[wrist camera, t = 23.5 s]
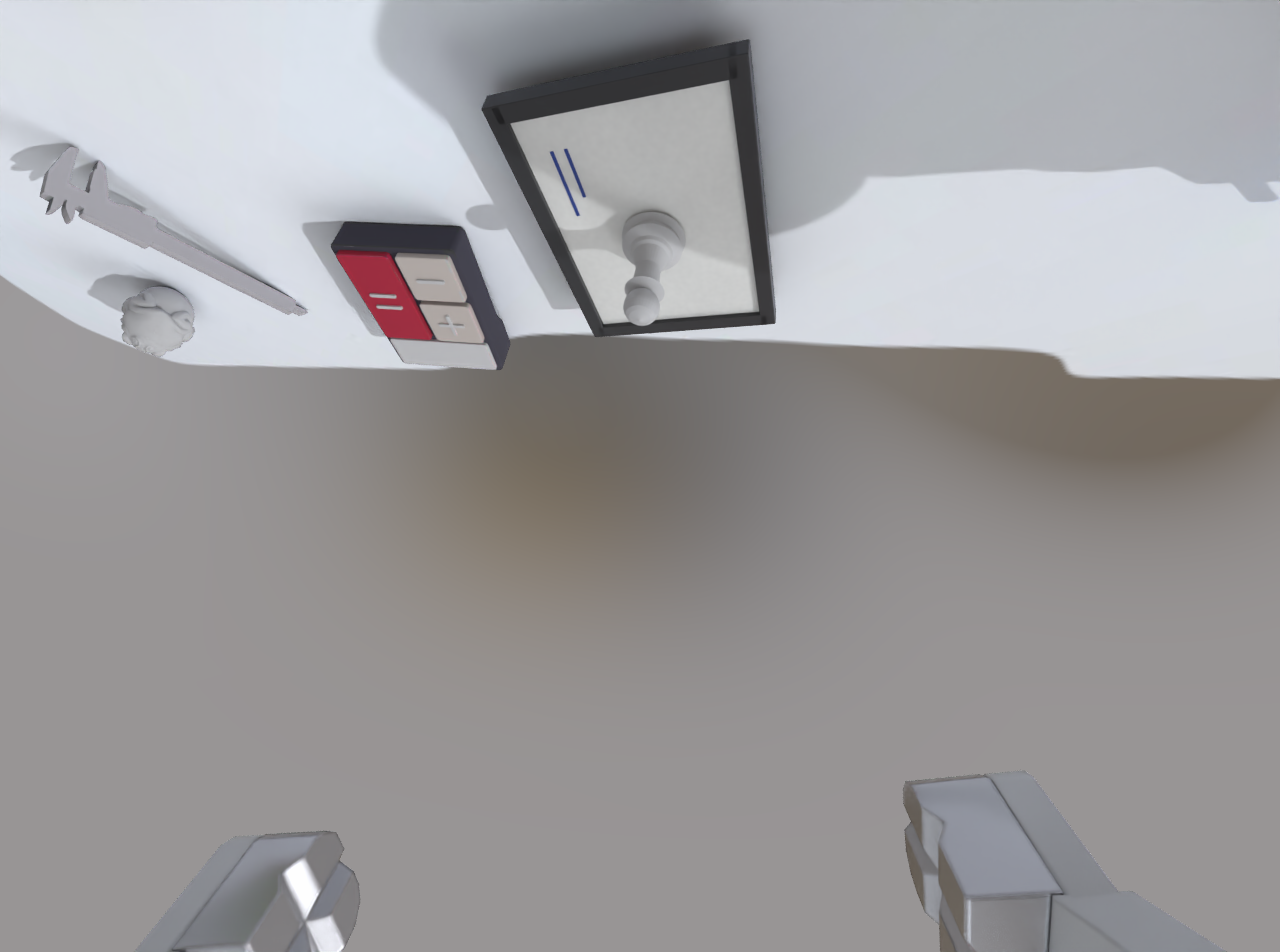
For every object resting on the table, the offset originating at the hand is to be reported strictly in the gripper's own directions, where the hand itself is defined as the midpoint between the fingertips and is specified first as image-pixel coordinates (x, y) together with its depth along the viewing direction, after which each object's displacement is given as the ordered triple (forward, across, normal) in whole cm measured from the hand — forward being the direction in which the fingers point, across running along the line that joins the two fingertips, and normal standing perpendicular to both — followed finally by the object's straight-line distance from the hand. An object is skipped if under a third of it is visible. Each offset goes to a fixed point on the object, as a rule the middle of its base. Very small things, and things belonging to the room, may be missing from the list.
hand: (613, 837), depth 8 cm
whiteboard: (+42, -2, -13) cm, 44 cm away
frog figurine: (+56, +50, -15) cm, 77 cm away
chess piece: (+40, -1, -11) cm, 42 cm away
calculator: (+52, +20, -11) cm, 56 cm away
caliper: (+50, +40, -18) cm, 67 cm away
